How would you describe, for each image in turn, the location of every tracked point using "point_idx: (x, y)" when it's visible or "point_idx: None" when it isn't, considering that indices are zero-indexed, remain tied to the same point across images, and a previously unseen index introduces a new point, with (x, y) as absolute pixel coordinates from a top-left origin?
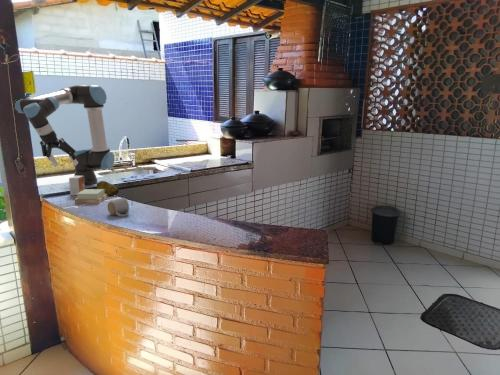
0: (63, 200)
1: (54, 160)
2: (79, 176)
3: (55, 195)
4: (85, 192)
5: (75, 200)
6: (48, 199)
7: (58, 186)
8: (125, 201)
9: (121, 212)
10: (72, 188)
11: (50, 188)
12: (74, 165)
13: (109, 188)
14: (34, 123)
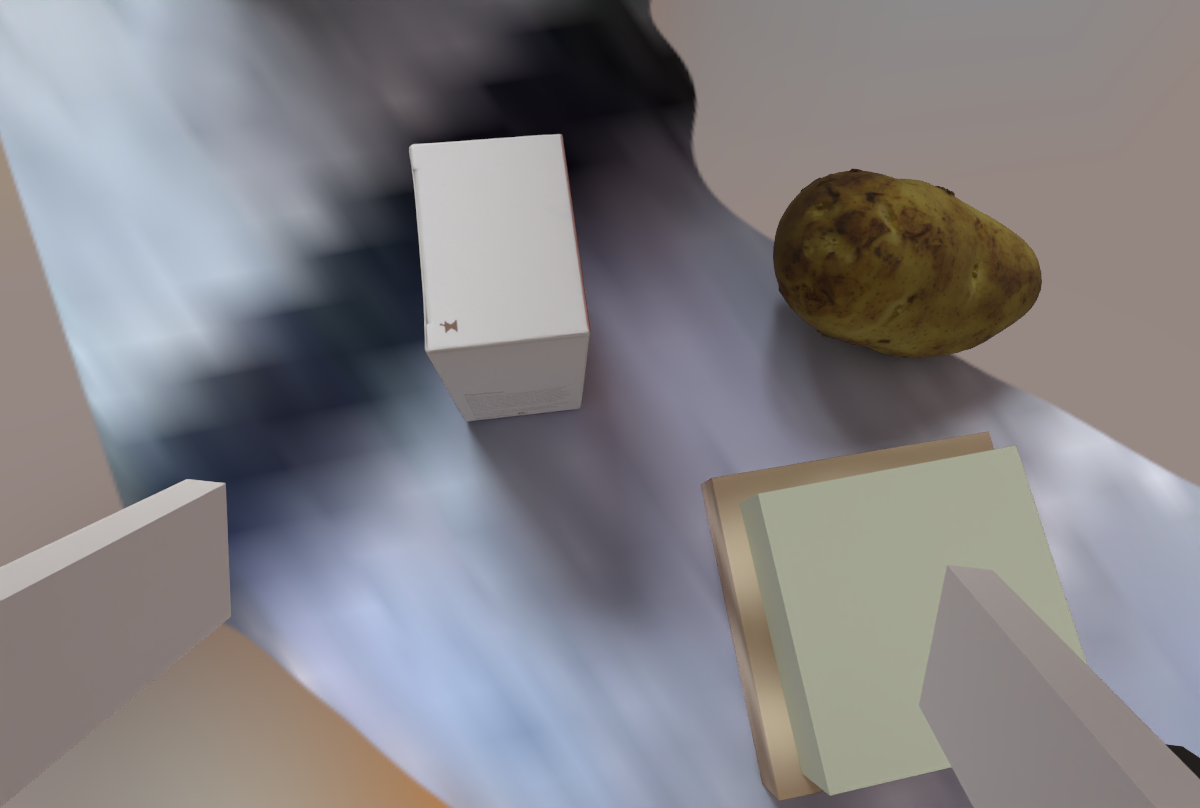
0: (531, 679)
1: (86, 625)
2: (530, 207)
3: (280, 469)
4: (900, 692)
5: (784, 795)
6: (309, 677)
7: (57, 55)
8: None
9: None
10: (491, 398)
11: (9, 160)
12: (925, 714)
13: (977, 315)
14: None
